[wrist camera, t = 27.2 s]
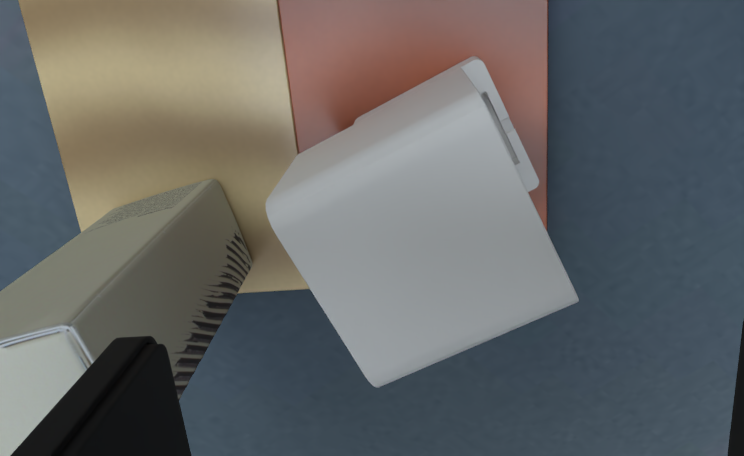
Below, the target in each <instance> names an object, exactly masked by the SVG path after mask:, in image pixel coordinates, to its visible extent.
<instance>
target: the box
mask: <svg viewBox="0 0 744 456" xmlns="http://www.w3.org/2000/svg"><path fill="white" fill-rule="evenodd" d="M251 268H252V260H251V258H250V255H249V253H248V250H247V247H246V245H245V242H244V239H243V237H242V234H241V232H240V229H239V227H238V224H237V222H236V219H235V217H234V215H233V212H232V210H231V208H230V206H229V204H228V201H227V199H226V197H225V195H224V193H223V190H222V188H221V186H220V184H219V182H218V181H217V180H216V179H209V180H205V181H201V182H197V183H193V184H190V185H186V186H183V187H179V188H176V189H173V190H169V191H166V192H163V193H159V194H156V195H153V196H150V197H147V198H144V199H141V200H138V201H135V202H132V203H129V204H126V205H123V206H120V207H117V208H114V209H112V210H111V211H109V212H108V213H107V214H105V215H104V216H103V217H102V218H100V219H99V220H98V221H96V222H95V223H94V224H92V225H91V226H90V227H88V228H87V229H86V230H84V231H83V232H82V233H80V234H79V235H77V236H76V237H75V238H73V239H72V240H70V241H69V242H68V243H66V244H65V245H64V246H62V247H61V248H60V249H58V250H57V251H55V252H54V253H53V254H51V255H50V256H48V257H47V258H46V259H44V260H43V261H41V262H40V263H39V264H37V265H36V266H35V267H33V268H32V269H31V270H29V271H28V272H27V273H25V274H24V275H22V276H21V277H20V278H18V279H17V280H15V281H14V282H13V283H11V284H10V285H9V286H7V287H6V288H4V289H3V290H2V291H0V456H10V455H11V454H12V453H13V452H14V451H15V450H16V449H17V448H18V446H19V445H20V444H21V443H22V442H23V441H24V440H25V439H26V438H27V436H28V435H29V434H30V433H31V432H32V431H33V430H34V429H35V427H36V426H37V425H38V424H39V423H40V422H41V421H42V420H43V418H44V417H45V416H46V415H47V414H48V413H49V412H50V411H51V409H52V408H53V407H54V406H55V405H56V404H57V403H58V402H59V401H60V399H61V398H62V397H63V396H64V395H65V394H66V393H67V392H68V390H69V389H70V388H71V387H72V386H73V385H74V384H75V383H76V381H77V380H78V379H79V378H80V377H81V376H82V375H83V374H84V372H85V371H86V370H87V369H88V368H89V367H90V366H91V365H92V363H93V362H94V361H95V360H96V359H97V358H98V357H99V356H100V355H101V353H102V352H103V351H104V350H105V349H106V348H107V347H108V346H109V344H110V343H111V342H112V341H113V340H114V339H116V338H120V337H138V336H152V337H153V338H154V339H155V340H156V342H157V344H163V345H165V347H166V348H167V351H168V355H169V359H170V364H171V368H172V373H173V377H174V382H175V386H176V390H177V395H178V399H180V398H181V395H182V393H183V391H184V390H185V388H186V387H187V385H188V383H189V380H190V378H191V376H192V375H193V374H194V372H195V370H196V368H197V365H198V364H199V362H200V361H201V359H202V358H203V355H204V353H205V351H206V350H207V348H208V346H209V344H210V342H211V340H212V339H213V337H214V335H215V333H216V332H217V329H218V328H219V326H220V325H221V322H222V320H223V318H224V316H225V315H226V313H227V311H228V309H229V307H230V306H231V304H232V302H233V300H234V298H235V297H236V295H237V293H238V291H239V290H240V288H241V285H242V284H243V282H244V280H245V278H246V276H247V275H248V273H249V271H250V269H251Z"/></svg>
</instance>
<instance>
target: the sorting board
mask: <svg viewBox="0 0 744 456" xmlns="http://www.w3.org/2000/svg"><path fill="white" fill-rule="evenodd" d="M18 1H19V5H20V9H21V12H22V16H23V20H24V23H25V27H26V31H27V34H28V38H29V42H30V45H31V49H32V53H33V56H34V60H35V64H36V67H37V71H38V75H39V79H40V82H41V86H42V90H43V93H44V97H45V101H46V104H47V108H48V112H49V115H50V119H51V123H52V126H53V130H54V134H55V137H56V141H57V145H58V148H59V152H60V156H61V159H62V163H63V167H64V171H65V174H66V178H67V182H68V185H69V189H70V193H71V196H72V200H73V204H74V207H75V211H76V215H77V218H78V222H79V226H80V229H81V233H82V232H83V231H84V230H86V229H87V228H88V227H90V226H91V225H92V224H94V223H95V222H96V221H98V220H99V219H100V218H102V217H103V216H104V215H105V214H107V213H108V212H109V211H111V210H112V209H114V208H117V207H120V206H123V205H126V204H129V203H132V202H135V201H138V200H141V199H144V198H147V197H150V196H153V195H156V194H159V193H163V192H166V191H169V190H173V189H176V188H179V187H183V186H186V185H190V184H193V183H197V182H201V181H205V180H209V179H216V180H217V181H218V182H219V184H220V186H221V188H222V190H223V193H224V195H225V197H226V199H227V201H228V204H229V206H230V208H231V210H232V212H233V215H234V217H235V219H236V222H237V224H238V227H239V229H240V232H241V234H242V237H243V239H244V242H245V245H246V247H247V250H248V253H249V255H250V258H251V260H252V268H251V269H250V271H249V273H248V275H247V276H246V278H245V280H244V282H243V284H242V285H241V288H240V290H239V291H238V293H251V292H267V291H284V290H300V289H310V288H309V286H308V285H307V283H306V282H305V280H304V279H303V277H302V275H301V274H300V272H299V271H298V269H297V267H296V266H295V264H294V263H293V261H292V259H291V258H290V256H289V255H288V253H287V252H286V250H285V248H284V247H283V245H282V244H281V242H280V240H279V239H278V237H277V236H276V234H275V232H274V230H273V229H272V227H271V224H270V222H269V220H268V216H267V213H266V205H265V204H266V200H267V198H268V197H269V195H270V194H271V193H272V191H273V190H274V188H275V187H276V185H277V184H278V182H279V181H280V179H281V178H282V176H283V175H284V174H285V172H286V171H287V169H288V168H289V166H290V165H291V163H292V162H293V160H294V159H295V157H296V156H297V155H298V154H300V153H302V152H304V151H305V150H307V149H309V148H311V147H313V146H315V145H317V144H319V143H320V142H322V141H324V140H326V139H328V138H330V137H332V136H334V135H335V134H337V133H339V132H341V131H343V130H345V129H347V128H348V127H350V126H352V125H353V124H354V122H355V120H356V119H357V118H358V117H360V116H362V115H363V114H365V113H367V112H369V111H371V110H373V109H375V108H377V107H378V106H380V105H382V104H384V103H386V102H388V101H390V100H391V99H393V98H395V97H397V96H399V95H401V94H403V93H404V92H406V91H408V90H410V89H412V88H414V87H416V86H417V85H419V84H421V83H423V82H425V81H427V80H429V79H431V78H432V77H434V76H436V75H438V74H440V73H442V72H444V71H445V70H447V69H449V68H451V67H453V66H455V65H457V64H458V63H460V62H462V61H464V60H466V59H468V58H470V57H472V56H476V57H478V58H479V59H480V60H482V61H483V63H484V64H485V66H486V68H487V70H488V72H489V75H490V77H491V79H492V81H493V83H494V85H495V87H496V89H497V92H498V94H499V96H500V98H501V100H502V102H503V104H504V107H505V109H506V111H507V113H508V115H509V119H510V121H511V123H512V125H513V127H514V129H515V130H516V132H517V134H518V136H519V138H520V141H521V143H522V145H523V147H524V149H525V151H526V153H527V155H528V158H529V160H530V162H531V164H532V166H533V168H534V170H535V173H536V175H537V177H538V179H539V185H538V186H537V188H535V189H533V190H531V191H529V192H528V193H529V195H530V198H531V200H532V202H533V204H534V206H535V208H536V210H537V212H538V214H539V216H540V218H541V221H542V223H543V225H544V227H545V229H546V231H547V144H548V0H18Z"/></svg>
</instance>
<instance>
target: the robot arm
mask: <svg viewBox="0 0 744 456" xmlns="http://www.w3.org/2000/svg"><path fill="white" fill-rule="evenodd" d="M10 456H191V452H190V448H189V443H188V439H187V435H186V430H185V426H184V421H183V417H182V412H181V408H180V404H179V399H178V395H177V390H176V386H175V382H174V377H173V373H172V368H171V364H170V359H169V355H168V351H167V348H166V347H165V345H163V344H157V342H156V340H155V339H154V338H153V337H152V336H138V337H120V338H116V339H114V340H113V341H112V342H111V343H110V344H109V346H108V347H107V348H106V349H105V350H104V351H103V352H102V353H101V355H100V356H99V357H98V358H97V359H96V360H95V361H94V362H93V363H92V365H91V366H90V367H89V368H88V369H87V370H86V371H85V372H84V374H83V375H82V376H81V377H80V378H79V379H78V380H77V381H76V383H75V384H74V385H73V386H72V387H71V388H70V389H69V390H68V392H67V393H66V394H65V395H64V396H63V397H62V398H61V399H60V401H59V402H58V403H57V404H56V405H55V406H54V407H53V408H52V409H51V411H50V412H49V413H48V414H47V415H46V416H45V417H44V418H43V420H42V421H41V422H40V423H39V424H38V425H37V426H36V427H35V429H34V430H33V431H32V432H31V433H30V434H29V435H28V436H27V438H26V439H25V440H24V441H23V442H22V443H21V444H20V445H19V446H18V448H17V449H16V450H15V451H14V452H13V453H12V454H11V455H10ZM728 456H744V321H743V328H742V337H741V345H740V354H739V362H738V371H737V379H736V388H735V396H734V405H733V413H732V422H731V430H730V439H729V448H728Z"/></svg>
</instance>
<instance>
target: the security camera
mask: <svg viewBox="0 0 744 456" xmlns="http://www.w3.org/2000/svg"><path fill="white" fill-rule="evenodd" d="M538 185H539V179H538V177H537V175H536V173H535V170H534V168H533V166H532V164H531V162H530V160H529V158H528V155H527V153H526V151H525V149H524V147H523V145H522V143H521V141H520V138H519V136H518V134H517V132H516V130H515V129H514V127H513V125H512V123H511V121H510V119H509V115H508V113H507V111H506V109H505V107H504V104H503V102H502V100H501V98H500V96H499V94H498V92H497V89H496V87H495V85H494V83H493V81H492V79H491V77H490V75H489V72H488V70H487V68H486V66H485V64H484V63H483V61H482V60H480V59H479V58H478V57H476V56H472V57H470V58H468V59H466V60H464V61H462V62H460V63H458V64H457V65H455V66H453V67H451V68H449V69H447V70H445V71H444V72H442V73H440V74H438V75H436V76H434V77H432V78H431V79H429V80H427V81H425V82H423V83H421V84H419V85H417V86H416V87H414V88H412V89H410V90H408V91H406V92H404V93H403V94H401V95H399V96H397V97H395V98H393V99H391V100H390V101H388V102H386V103H384V104H382V105H380V106H378V107H377V108H375V109H373V110H371V111H369V112H367V113H365V114H363V115H362V116H360V117H358V118H357V119H356V120H355V122H354V124H353V125H352V126H350V127H348V128H347V129H345V130H343V131H341V132H339V133H337V134H335V135H334V136H332V137H330V138H328V139H326V140H324V141H322V142H320V143H319V144H317V145H315V146H313V147H311V148H309V149H307V150H305V151H304V152H302V153H300V154H298V155H297V156H296V157H295V159H294V160H293V162H292V163H291V165H290V166H289V168H288V169H287V171H286V172H285V174H284V175H283V176H282V178H281V179H280V181H279V182H278V184H277V185H276V187H275V188H274V190H273V191H272V193H271V194H270V195H269V197H268V198H267V200H266V204H265V205H266V213H267V216H268V220H269V222H270V224H271V227H272V229H273V230H274V232H275V234H276V236H277V237H278V239H279V240H280V242H281V244H282V245H283V247H284V248H285V250H286V252H287V253H288V255H289V256H290V258H291V259H292V261H293V263H294V264H295V266H296V267H297V269H298V271H299V272H300V274H301V275H302V277H303V279H304V280H305V282H306V283H307V285H308V286H309V288H310V290H311V291H312V293H313V294H314V296H315V298H316V299H317V301H318V302H319V304H320V306H321V307H322V309H323V310H324V312H325V313H326V315H327V317H328V318H329V320H330V321H331V323H332V325H333V326H334V328H335V329H336V331H337V333H338V334H339V336H340V337H341V339H342V340H343V342H344V344H345V345H346V347H347V348H348V350H349V352H350V353H351V355H352V356H353V358H354V360H355V361H356V363H357V364H358V366H359V367H360V369H361V371H362V372H363V374H364V375H365V377H366V378H367V380H368V381H369V382H370V383H371V384H372V385H373V386H374V387H381V386H383V385H385V384H388V383H390V382H392V381H395V380H397V379H399V378H402V377H404V376H406V375H409V374H411V373H413V372H416V371H418V370H420V369H423V368H425V367H427V366H430V365H432V364H434V363H437V362H439V361H441V360H444V359H446V358H448V357H451V356H453V355H455V354H458V353H460V352H462V351H465V350H467V349H469V348H472V347H474V346H476V345H479V344H481V343H483V342H486V341H488V340H490V339H493V338H495V337H497V336H500V335H502V334H504V333H507V332H509V331H511V330H514V329H516V328H518V327H521V326H523V325H525V324H528V323H530V322H533V321H535V320H537V319H540V318H542V317H544V316H547V315H549V314H551V313H554V312H556V311H558V310H561V309H563V308H565V307H568V306H570V305H572V304H575V303H577V302H578V301H579V299H578V296H577V294H576V292H575V290H574V287H573V285H572V283H571V281H570V279H569V277H568V275H567V273H566V271H565V269H564V267H563V264H562V262H561V260H560V258H559V256H558V254H557V252H556V250H555V248H554V246H553V244H552V241H551V239H550V237H549V235H548V233H547V231H546V229H545V227H544V225H543V223H542V221H541V218H540V216H539V214H538V212H537V210H536V208H535V206H534V204H533V202H532V200H531V198H530V195H529V193H528V192H529V191H531V190H533V189H535V188H537V186H538Z"/></svg>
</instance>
